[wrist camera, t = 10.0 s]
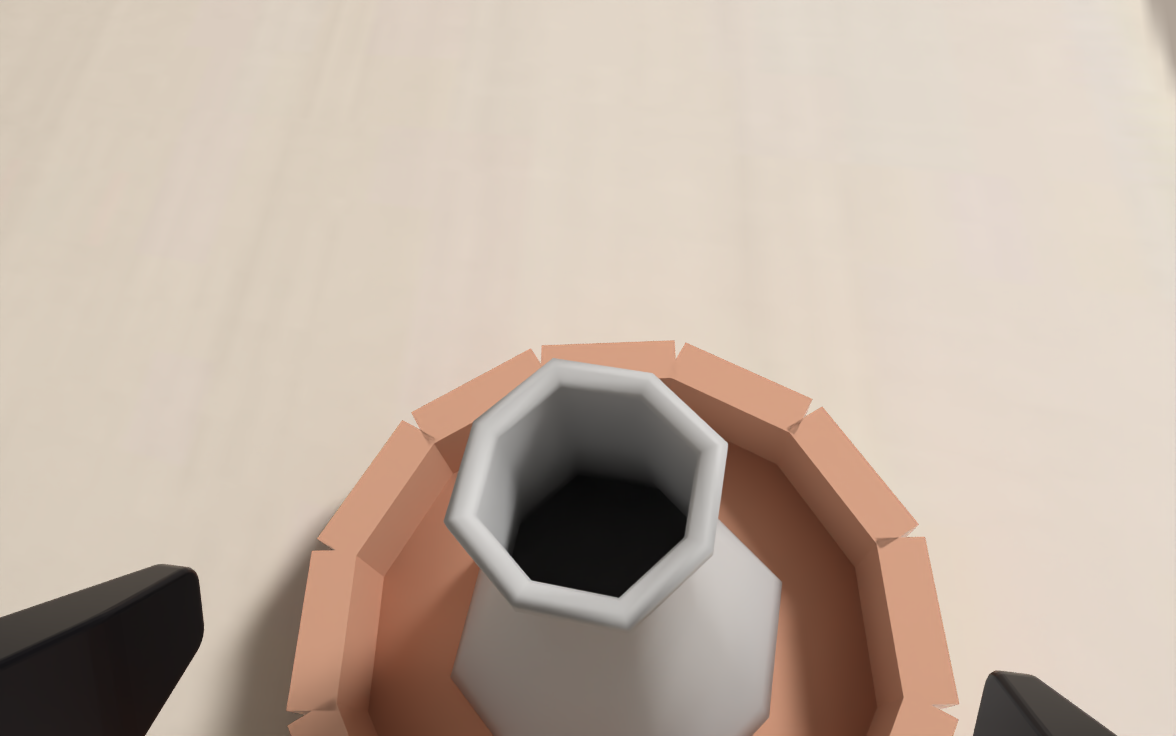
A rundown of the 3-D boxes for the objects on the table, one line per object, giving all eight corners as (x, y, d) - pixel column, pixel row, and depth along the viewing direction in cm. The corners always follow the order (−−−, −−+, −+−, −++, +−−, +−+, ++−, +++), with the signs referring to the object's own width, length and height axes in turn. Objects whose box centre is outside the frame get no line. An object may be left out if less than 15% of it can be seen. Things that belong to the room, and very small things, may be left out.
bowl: (759, 1155, 14) (783, 1237, 12) (232, 760, 18) (160, 755, 15) (981, 537, 19) (1033, 497, 17) (529, 325, 23) (513, 265, 20)
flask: (396, 695, 18) (140, 603, 9) (564, 430, 20) (498, 157, 11) (689, 893, 16) (739, 1036, 7) (833, 569, 18) (1004, 366, 9)
